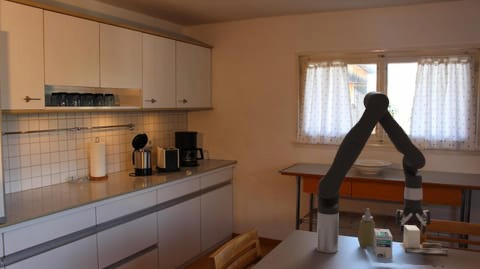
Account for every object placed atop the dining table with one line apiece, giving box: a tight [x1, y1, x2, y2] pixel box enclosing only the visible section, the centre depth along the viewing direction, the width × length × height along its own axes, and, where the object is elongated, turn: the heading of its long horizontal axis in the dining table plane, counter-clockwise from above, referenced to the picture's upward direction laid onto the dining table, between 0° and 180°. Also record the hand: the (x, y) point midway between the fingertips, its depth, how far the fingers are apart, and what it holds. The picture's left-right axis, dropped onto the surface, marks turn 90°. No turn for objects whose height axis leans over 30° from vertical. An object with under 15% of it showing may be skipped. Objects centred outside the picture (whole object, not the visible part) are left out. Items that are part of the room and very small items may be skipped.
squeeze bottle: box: [357, 207, 376, 250], centre depth 198 cm, size 8×8×18 cm
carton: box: [402, 224, 421, 248], centre depth 193 cm, size 5×8×9 cm, turn 172°
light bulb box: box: [373, 227, 393, 259], centre depth 186 cm, size 11×7×11 cm, turn 168°
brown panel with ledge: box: [399, 242, 448, 255], centre depth 192 cm, size 17×12×4 cm
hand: (412, 233), depth 193 cm, fingers open, 8 cm apart
